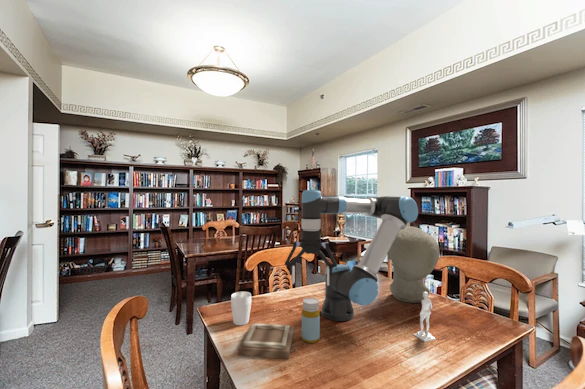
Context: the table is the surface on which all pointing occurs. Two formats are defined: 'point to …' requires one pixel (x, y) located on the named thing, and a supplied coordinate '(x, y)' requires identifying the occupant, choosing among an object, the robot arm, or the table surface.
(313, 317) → the bottle
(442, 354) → the table surface
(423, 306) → the figurine
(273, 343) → the plinth
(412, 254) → the bust
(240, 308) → the cup
